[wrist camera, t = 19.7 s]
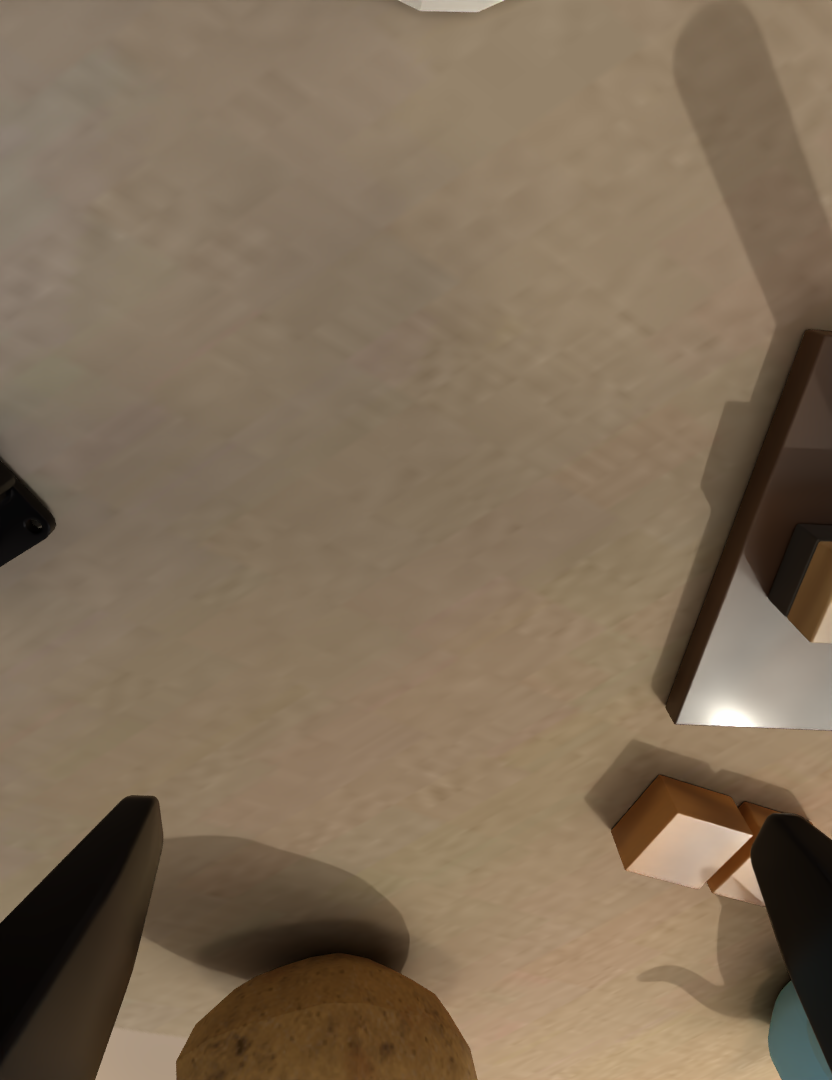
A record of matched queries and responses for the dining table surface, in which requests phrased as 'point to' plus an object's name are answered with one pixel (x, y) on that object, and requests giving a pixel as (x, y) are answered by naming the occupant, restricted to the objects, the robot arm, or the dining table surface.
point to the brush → (807, 582)
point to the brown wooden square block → (680, 833)
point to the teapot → (795, 1040)
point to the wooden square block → (742, 863)
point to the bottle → (451, 5)
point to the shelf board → (768, 576)
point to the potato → (327, 1028)
